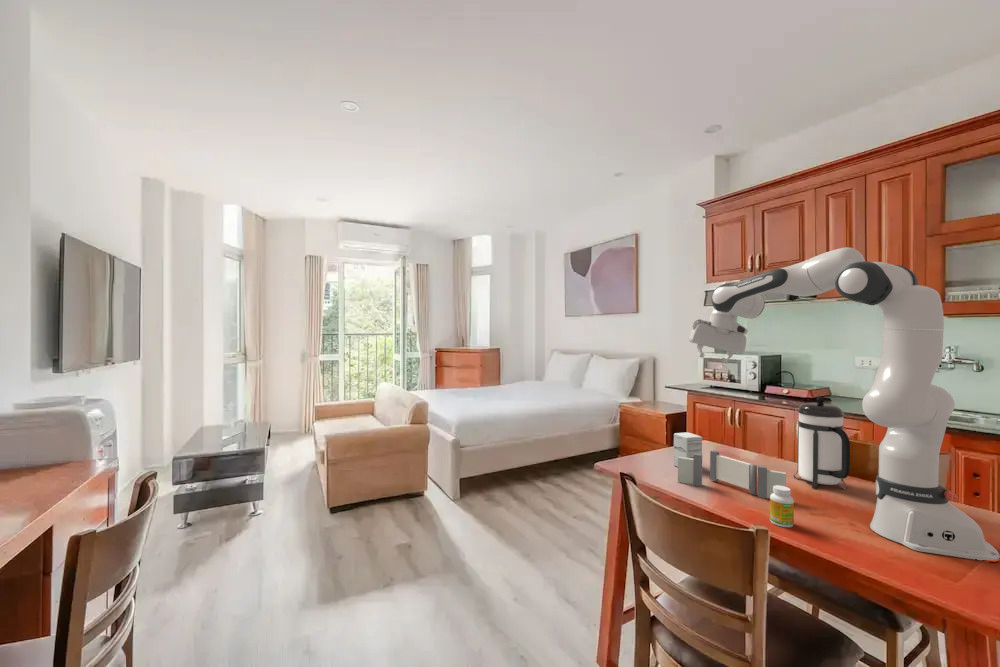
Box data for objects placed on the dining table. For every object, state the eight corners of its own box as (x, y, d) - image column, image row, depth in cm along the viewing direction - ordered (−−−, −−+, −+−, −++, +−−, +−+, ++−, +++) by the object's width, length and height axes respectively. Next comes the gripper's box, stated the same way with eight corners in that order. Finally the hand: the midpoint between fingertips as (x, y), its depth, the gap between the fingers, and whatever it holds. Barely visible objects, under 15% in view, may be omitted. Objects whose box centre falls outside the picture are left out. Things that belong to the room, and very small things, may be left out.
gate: (758, 493, 135) (758, 462, 135) (754, 494, 134) (754, 463, 134) (713, 478, 148) (713, 450, 148) (710, 479, 147) (710, 451, 147)
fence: (785, 499, 131) (785, 465, 131) (785, 502, 129) (786, 467, 129) (678, 480, 148) (678, 450, 148) (677, 482, 146) (677, 452, 146)
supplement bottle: (782, 529, 112) (783, 492, 112) (765, 520, 117) (765, 485, 117) (798, 526, 113) (798, 490, 113) (780, 517, 119) (780, 483, 118)
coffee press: (785, 482, 146) (786, 395, 146) (802, 473, 156) (802, 391, 155) (848, 498, 132) (849, 402, 132) (862, 487, 142) (863, 398, 142)
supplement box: (672, 465, 164) (672, 433, 164) (688, 463, 167) (688, 431, 167) (686, 471, 157) (686, 437, 157) (702, 469, 160) (702, 436, 159)
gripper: (699, 317, 157) (689, 354, 157) (752, 331, 157) (742, 367, 157) (691, 318, 163) (682, 352, 163) (742, 330, 163) (733, 365, 163)
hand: (712, 360), depth 160 cm, fingers open, 8 cm apart
